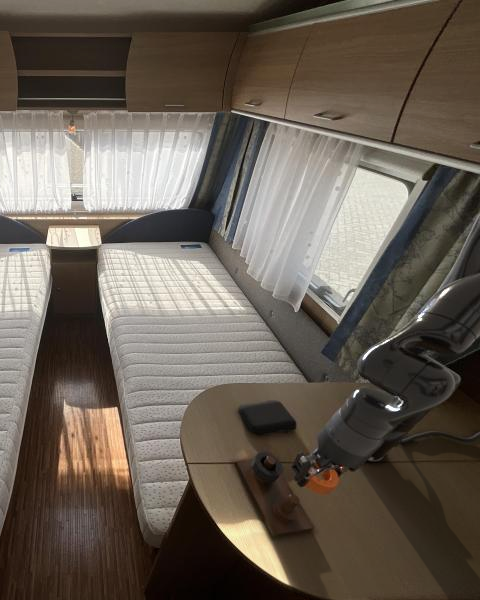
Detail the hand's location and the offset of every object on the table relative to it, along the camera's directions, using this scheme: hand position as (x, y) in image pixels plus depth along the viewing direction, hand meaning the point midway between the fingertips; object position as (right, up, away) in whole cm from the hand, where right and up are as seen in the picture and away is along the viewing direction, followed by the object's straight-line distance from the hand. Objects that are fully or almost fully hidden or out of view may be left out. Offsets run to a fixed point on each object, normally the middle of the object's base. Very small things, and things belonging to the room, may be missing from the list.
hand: (313, 479), depth 70 cm
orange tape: (0, +1, 0) cm, 1 cm away
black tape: (-2, -5, +15) cm, 16 cm away
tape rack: (-2, -11, +13) cm, 17 cm away
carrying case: (+7, +1, +30) cm, 31 cm away
